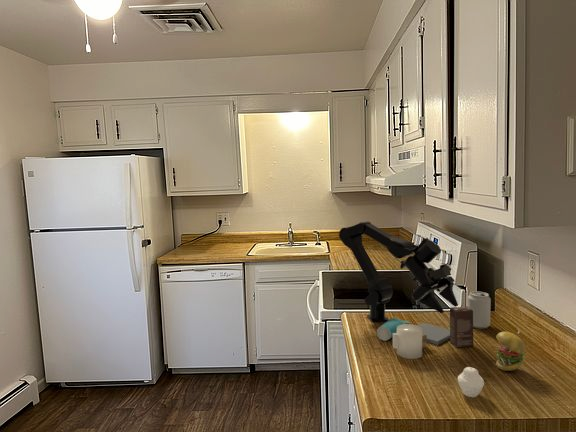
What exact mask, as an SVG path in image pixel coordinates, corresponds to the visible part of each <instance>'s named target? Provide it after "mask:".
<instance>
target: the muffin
mask: <svg viewBox="0 0 576 432" xmlns="http://www.w3.org/2000/svg"><path fill="white" fill-rule="evenodd" d="M482 377H483V376H481V375H480V374H479V370H478V369H476V368H474V367H471V366H466V367H465V368H464V369H463V370H462V372H461V373H460V374H459V375H458V376H457V381H458V386H459V388H460V389H461V391H462V393H463V395H465V396H466V397H468V398H477V397H478V395H479V394H480V393H481V391H482V390H483V387H484V386H485V381H484V378H482Z"/></svg>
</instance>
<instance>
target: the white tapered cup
mask: <svg viewBox="0 0 576 432" xmlns="http://www.w3.org/2000/svg"><path fill="white" fill-rule="evenodd" d="M392 348H393V349H394V350H395V349H396V354H397V356H399V357H401V358H403V359H408V360H409V359H410V360H414V359H415V360H416V359H420V358H421V357H422V356H423V348H422V328H421V327H419V326H418V325H417V324H416V325H415V324H412V323H411V324H410V323H409V324H402V325H399V326H397V333H393V337H392Z"/></svg>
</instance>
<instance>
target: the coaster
mask: <svg viewBox="0 0 576 432" xmlns="http://www.w3.org/2000/svg"><path fill="white" fill-rule="evenodd" d="M417 326H419V327H421V328H422V333H424V334H426V335H427V343H430V344H433V345H436V346H438V345H441V344H442V343H443V342H445V341H447V340H450V329H448V328H444V327H440V326H437V325H434V324H430V323H426V322H423V323H420V324H418V325H417Z"/></svg>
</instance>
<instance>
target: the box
mask: <svg viewBox="0 0 576 432" xmlns="http://www.w3.org/2000/svg"><path fill="white" fill-rule="evenodd" d="M449 330H450V338H449V343H450V344H451V345H452V346H454V347H455V348H463V347H465V348H466V347H474V327H473V310H472V309H470V308H469V307H468V305H467V306H457V307H455V306H454V307H453V306H451V307H449Z"/></svg>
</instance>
